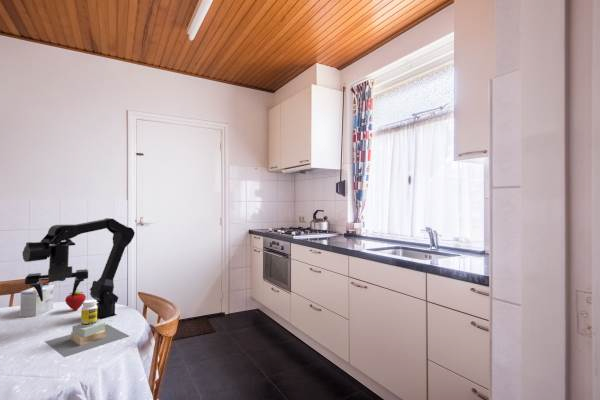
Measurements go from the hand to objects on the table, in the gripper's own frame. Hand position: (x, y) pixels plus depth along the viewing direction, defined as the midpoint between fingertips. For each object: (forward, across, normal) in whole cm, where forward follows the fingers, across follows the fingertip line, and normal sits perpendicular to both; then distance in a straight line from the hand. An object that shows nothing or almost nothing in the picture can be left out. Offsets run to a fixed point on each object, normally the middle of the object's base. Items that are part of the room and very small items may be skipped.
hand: (57, 299), depth 118 cm
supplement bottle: (+7, +10, -16) cm, 20 cm away
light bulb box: (+12, -8, +29) cm, 33 cm away
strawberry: (+12, +5, +23) cm, 27 cm away
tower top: (+9, +10, -16) cm, 21 cm away
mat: (+12, +10, -16) cm, 22 cm away
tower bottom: (+12, +10, -16) cm, 22 cm away
